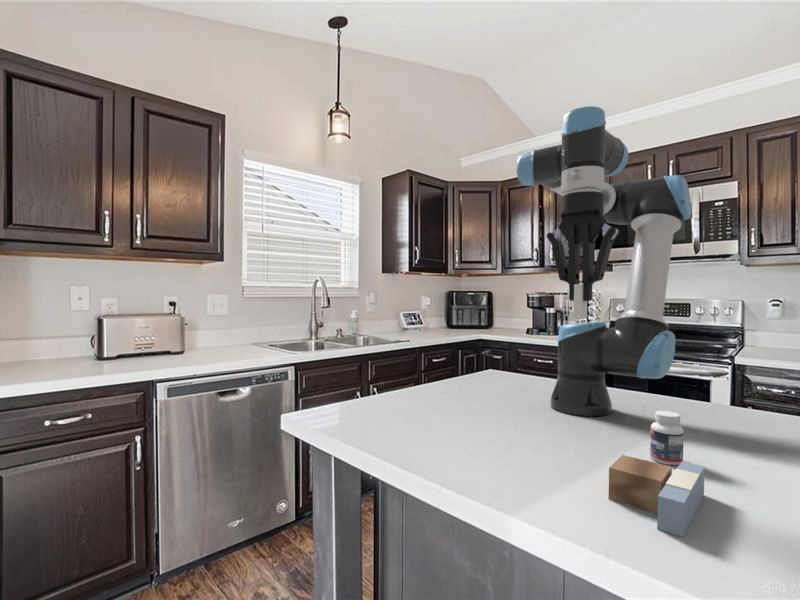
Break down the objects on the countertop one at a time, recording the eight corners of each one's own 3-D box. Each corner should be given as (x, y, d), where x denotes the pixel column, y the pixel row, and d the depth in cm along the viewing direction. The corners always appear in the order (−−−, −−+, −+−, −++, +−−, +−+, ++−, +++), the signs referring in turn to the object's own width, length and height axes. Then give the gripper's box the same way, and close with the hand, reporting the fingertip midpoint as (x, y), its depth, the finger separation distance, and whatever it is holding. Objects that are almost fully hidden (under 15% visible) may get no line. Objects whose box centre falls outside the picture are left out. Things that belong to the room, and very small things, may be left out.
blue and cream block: (657, 528, 59) (657, 494, 59) (681, 489, 71) (681, 459, 70) (683, 537, 57) (684, 501, 57) (703, 494, 69) (704, 465, 68)
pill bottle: (644, 455, 85) (644, 409, 85) (669, 454, 85) (670, 409, 85) (662, 466, 80) (663, 417, 79) (689, 465, 80) (690, 417, 80)
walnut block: (608, 500, 67) (609, 467, 67) (621, 484, 72) (622, 454, 72) (660, 516, 63) (661, 481, 62) (670, 498, 68) (671, 466, 68)
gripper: (540, 195, 85) (539, 317, 86) (612, 185, 76) (610, 321, 77) (556, 201, 90) (554, 316, 91) (625, 192, 82) (623, 319, 82)
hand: (580, 318), depth 84 cm, fingers closed
